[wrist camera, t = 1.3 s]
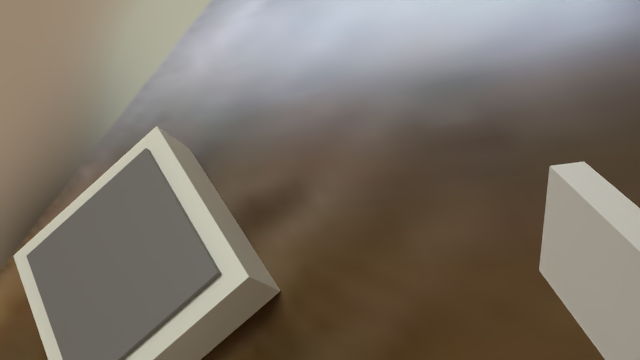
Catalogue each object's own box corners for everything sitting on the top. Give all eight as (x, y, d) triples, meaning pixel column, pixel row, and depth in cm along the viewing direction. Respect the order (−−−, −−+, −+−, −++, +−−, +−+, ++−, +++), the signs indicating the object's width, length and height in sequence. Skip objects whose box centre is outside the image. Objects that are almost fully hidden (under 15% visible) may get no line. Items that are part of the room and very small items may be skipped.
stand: (189, 149, 51) (152, 123, 47) (280, 290, 42) (245, 274, 38) (56, 268, 52) (8, 254, 48) (118, 430, 43) (66, 429, 39)
